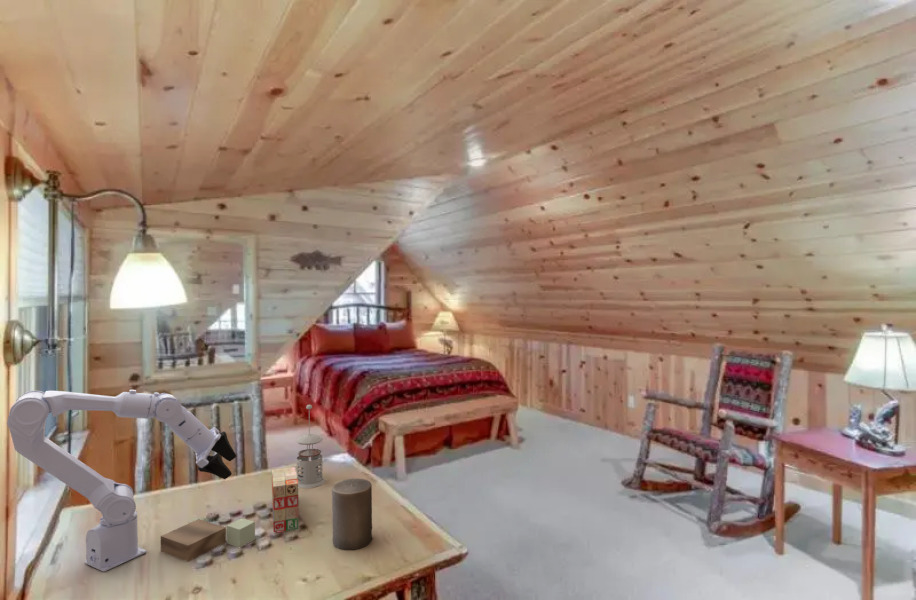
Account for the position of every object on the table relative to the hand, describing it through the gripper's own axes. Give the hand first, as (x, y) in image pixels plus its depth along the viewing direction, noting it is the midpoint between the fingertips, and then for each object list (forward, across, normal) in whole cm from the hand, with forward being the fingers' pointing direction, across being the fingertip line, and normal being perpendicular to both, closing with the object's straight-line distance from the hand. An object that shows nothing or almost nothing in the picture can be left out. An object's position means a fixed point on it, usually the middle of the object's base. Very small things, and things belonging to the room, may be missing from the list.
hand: (230, 467), depth 132 cm
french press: (+30, +23, -1) cm, 37 cm away
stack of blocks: (+21, +1, 0) cm, 21 cm away
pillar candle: (+27, -18, -17) cm, 37 cm away
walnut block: (+7, -12, +14) cm, 19 cm away
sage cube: (+13, -12, +5) cm, 18 cm away
